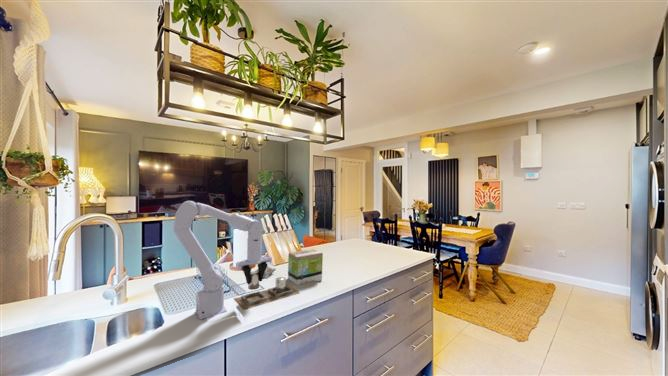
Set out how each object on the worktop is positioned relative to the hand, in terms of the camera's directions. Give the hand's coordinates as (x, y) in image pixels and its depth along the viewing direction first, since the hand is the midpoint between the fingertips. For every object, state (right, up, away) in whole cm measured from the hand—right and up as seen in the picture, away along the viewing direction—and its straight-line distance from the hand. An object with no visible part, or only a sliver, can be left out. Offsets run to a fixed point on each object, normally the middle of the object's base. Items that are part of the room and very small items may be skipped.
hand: (254, 281), depth 105 cm
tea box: (+18, -9, +25) cm, 32 cm away
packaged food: (-4, -9, +30) cm, 32 cm away
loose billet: (0, -3, 0) cm, 3 cm away
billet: (+9, -7, +8) cm, 14 cm away
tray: (-7, -9, +12) cm, 17 cm away
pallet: (+5, -9, +4) cm, 11 cm away
